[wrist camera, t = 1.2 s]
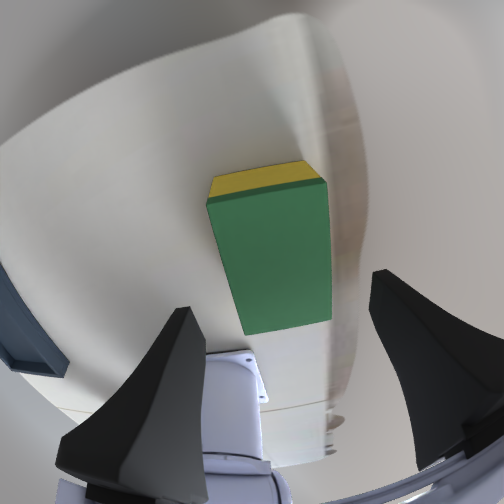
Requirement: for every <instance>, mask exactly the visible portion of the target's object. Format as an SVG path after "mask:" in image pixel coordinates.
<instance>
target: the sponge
mask: <svg viewBox="0 0 504 504" xmlns="http://www.w3.org/2000/svg"><path fill="white" fill-rule="evenodd" d="M206 207H207V211H208V214H209V218H210V222H211V225H212V229H213V232H214V236H215V239H216V243H217V246H218V249H219V253H220V256H221V260H222V263H223V266H224V270H225V273H226V276H227V280H228V283H229V286H230V290H231V293H232V296H233V299H234V303H235V306H236V309H237V312H238V315H239V319H240V322H241V325H242V328H243V331H244V334H245V335H253V334H259V333H265V332H271V331H277V330H282V329H288V328H293V327H298V326H303V325H308V324H313V323H318V322H323V321H327V320H331V319H332V269H331V240H330V221H329V205H328V192H327V183H326V181H325V180H324V179H323V178H322V177H320V176H319V175H318V174H317V173H316V171H315V170H314V169H313V168H312V167H311V166H310V165H309V164H308V163H307V162H306V161H297V162H291V163H285V164H279V165H273V166H267V167H262V168H256V169H251V170H246V171H241V172H236V173H231V174H226V175H221V176H217V177H214V179H213V182H212V186H211V189H210V193H209V197H208V199H207V203H206Z"/></svg>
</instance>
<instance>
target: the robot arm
mask: <svg viewBox="0 0 504 504" xmlns="http://www.w3.org/2000/svg"><path fill="white" fill-rule="evenodd" d="M369 312H370V315H371V318H372V321H373V323H374V326H375V329H376V331H377V333H378V335H379V338H380V339H381V342H382V344H383V346H384V348H385V350H386V352H387V354H388V356H389V358H390V360H391V363H392V364H393V366H394V369H395V371H396V373H397V376H398V378H399V381H400V384H401V387H402V390H403V394H404V397H405V401H406V405H407V408H408V413H409V416H410V421H411V426H412V432H413V437H414V444H415V452H416V463H417V467H418V470H419V471H422V470H424V469H426V468H428V467H430V466H433V465H435V464H437V463H439V462H441V461H443V460H445V459H446V460H445V461H443V462H441V463H439V464H437V465H435V466H433V467H431V468H429V469H426V470H425V471H422V472H420V473H418V474H415V475H413V476H411V477H408V478H406V479H404V480H401V481H398V482H396V483H393V484H390V485H387V486H384V487H381V488H378V489H375V490H372V491H369V492H366V493H362V494H359V495H355V496H352V497H348V498H344V499H340V500H336V501H331V502H327V503H321V504H383V503H386V502H389V501H392V500H395V499H397V498H400V497H402V496H405V495H407V494H410V493H412V492H414V491H416V490H419V489H421V488H423V487H425V486H428V485H430V484H432V483H433V485H432V487H431V489H430V490H429V491H427V492H424V493H422V494H419V495H417V496H415V497H412V498H410V499H408V500H405V501H403V502H401V503H398V504H497V503H498V502H499V501H500V500H501V499H502V498H503V497H504V339H501V338H498V337H496V336H493V335H491V334H488V333H486V332H484V331H482V330H479V329H477V328H475V327H473V326H471V325H469V324H467V323H466V322H464V321H462V320H460V319H458V318H457V317H455V316H453V315H451V314H450V313H448V312H446V311H445V310H443V309H442V308H440V307H439V306H437V305H436V304H434V303H433V302H431V301H430V300H429V299H427V298H426V297H424V296H423V295H421V294H420V293H419V292H417V291H416V290H415V289H413V288H412V287H411V286H409V285H408V284H406V283H405V282H404V281H402V280H401V279H400V278H398V277H397V276H395V275H394V274H392V273H391V272H390V271H389V270H387V269H384V270H380V271H375V272H373V274H372V285H371V294H370V302H369ZM266 402H268V396H267V393H266V390H265V387H264V384H263V381H262V378H261V375H260V371H259V368H258V365H257V362H256V359H255V356H254V353H253V351H251V350H242V351H235V352H227V353H219V354H210V355H206V340H205V338H204V336H203V334H202V331H201V329H200V327H199V325H198V323H197V321H196V319H195V316H194V314H193V312H192V310H191V308H190V306H189V307H182V308H176V309H175V310H174V312H173V313H172V315H171V316H170V318H169V319H168V321H167V323H166V324H165V326H164V327H163V329H162V331H161V332H160V334H159V335H158V337H157V338H156V340H155V341H154V343H153V345H152V346H151V348H150V349H149V351H148V352H147V354H146V355H145V356H144V358H143V359H142V361H141V362H140V363H139V365H138V366H137V368H136V369H135V370H134V372H133V373H132V374H131V375H130V377H129V378H128V379H127V380H126V381H125V383H124V384H123V385H122V386H121V387H120V388H119V389H118V390H117V392H116V393H115V394H114V395H113V396H112V397H111V398H110V399H109V400H108V401H107V402H106V403H105V404H104V405H103V406H102V407H101V408H99V409H98V410H97V411H96V412H95V413H94V414H93V415H91V416H90V417H89V418H88V419H87V420H85V421H84V422H83V423H81V424H80V425H79V426H77V427H76V428H75V429H73V430H72V431H70V432H69V433H68V434H66V435H64V436H63V437H62V438H61V441H60V445H59V449H58V454H57V458H56V462H55V465H56V467H57V468H59V469H60V470H62V471H64V472H66V473H68V474H70V475H72V476H74V477H76V478H78V479H80V480H82V481H85V482H87V488H85V487H83V486H80V485H77V484H74V483H72V482H69V481H67V480H64V479H59V483H58V489H57V495H56V501H55V504H292V496H291V491H290V488H289V486H288V483H287V482H286V480H285V479H284V477H282V475H281V474H280V473H279V472H278V471H276V470H271V463H270V461H263V455H262V435H261V422H260V409H259V404H260V403H266Z"/></svg>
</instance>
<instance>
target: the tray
mask: <svg viewBox="0 0 504 504" xmlns="http://www.w3.org/2000/svg"><path fill="white" fill-rule="evenodd" d="M0 359H1V360H2V361H3V362H4V363H5V364H6V365H7V366H8V367H9V369H11V371H15V372H21V373H27V374H33V375H40V376H48V377H57V378H64V376H65V373H66V371H67V368H68V365H69V363H70V362H69V361H68V359H67V358H66V357H65V356H64V355H63V354H62V353H61V351H60V350H59V349H58V348H57V347H56V345H55V344H54V343H53V342H52V340H51V339H50V338H49V337H48V335H47V334H46V333H45V331H44V330H43V329H42V328H41V326H40V325H39V323H38V322H37V321H36V319H35V318H34V317H33V315H32V314H31V312H30V311H29V309H28V308H27V307H26V305H25V304H24V302H23V301H22V299H21V297H20V296H19V294H18V293H17V291H16V290H15V288H14V286H13V285H12V283H11V281H10V280H9V278H8V276H7V275H6V273H5V271H4V269H3V268H2V266H1V264H0Z"/></svg>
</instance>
